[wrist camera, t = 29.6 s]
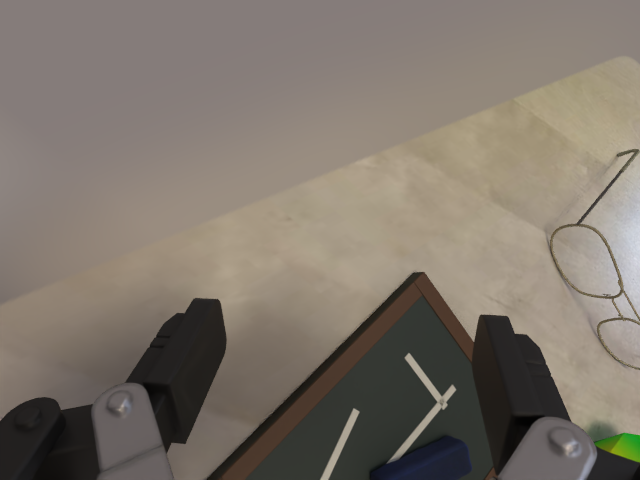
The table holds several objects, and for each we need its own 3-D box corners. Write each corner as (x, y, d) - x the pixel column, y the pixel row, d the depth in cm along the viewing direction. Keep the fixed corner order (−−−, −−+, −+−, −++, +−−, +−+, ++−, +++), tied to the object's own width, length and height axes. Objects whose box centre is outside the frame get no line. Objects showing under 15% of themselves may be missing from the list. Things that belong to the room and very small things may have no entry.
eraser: (392, 516, 27) (476, 473, 30) (385, 480, 27) (469, 440, 30) (374, 502, 29) (454, 463, 32) (367, 468, 29) (448, 432, 32)
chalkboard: (200, 485, 26) (203, 494, 25) (413, 272, 34) (424, 271, 33) (356, 657, 29) (365, 673, 28) (522, 425, 36) (536, 429, 35)
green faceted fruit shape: (720, 477, 34) (649, 526, 30) (671, 515, 37) (603, 563, 34) (634, 400, 39) (564, 433, 35) (598, 440, 42) (532, 474, 39)
